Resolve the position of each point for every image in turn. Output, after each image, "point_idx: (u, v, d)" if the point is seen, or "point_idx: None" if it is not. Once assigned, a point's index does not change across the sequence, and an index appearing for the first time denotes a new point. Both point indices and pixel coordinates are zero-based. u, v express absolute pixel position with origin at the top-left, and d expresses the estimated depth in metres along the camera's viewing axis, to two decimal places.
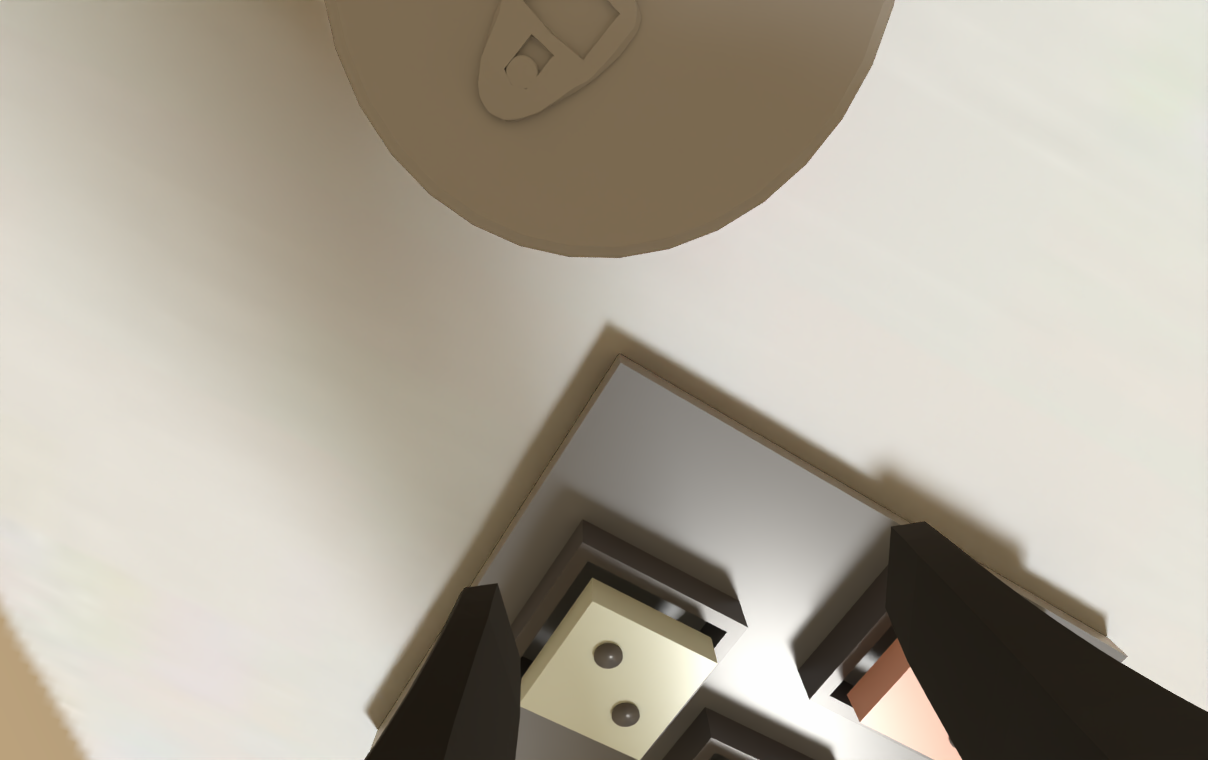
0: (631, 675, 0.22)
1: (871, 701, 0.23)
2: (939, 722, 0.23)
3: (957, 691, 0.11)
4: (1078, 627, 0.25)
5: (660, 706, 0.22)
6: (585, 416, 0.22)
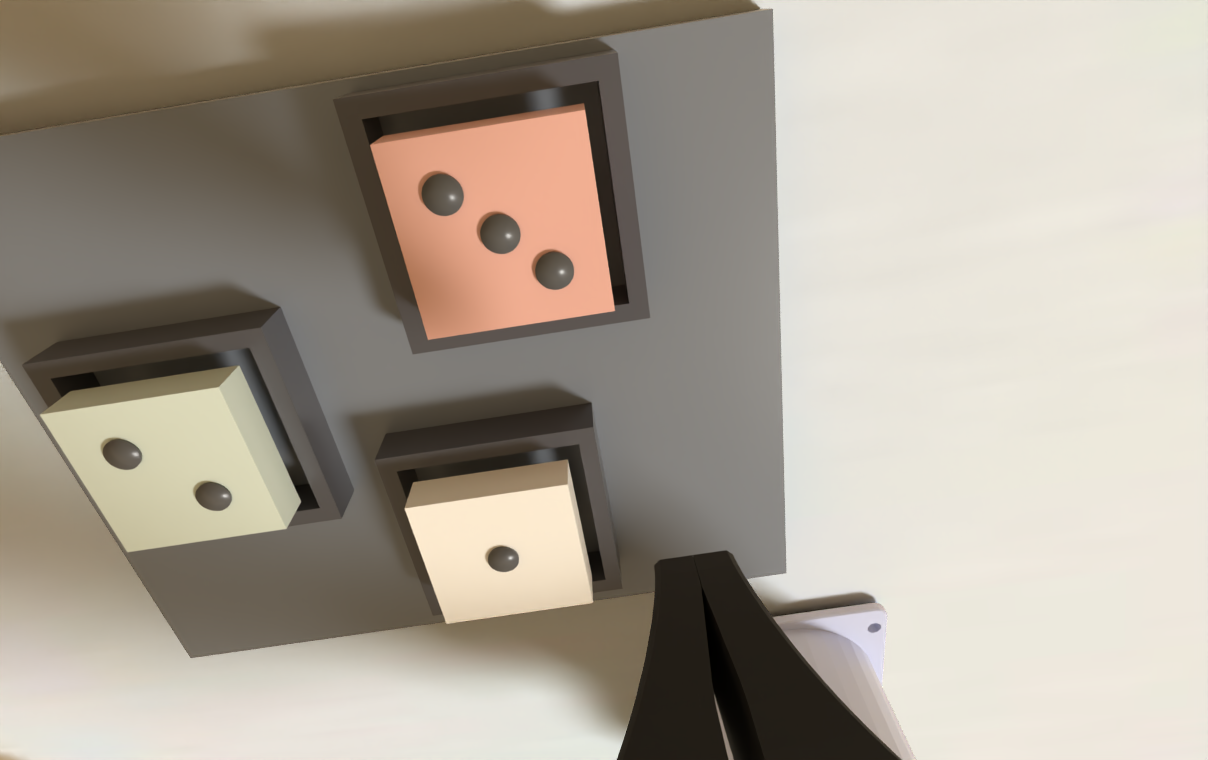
0: (168, 457, 0.18)
1: None
2: (508, 274, 0.16)
3: (731, 721, 0.11)
4: (669, 26, 0.16)
5: (232, 467, 0.18)
6: None
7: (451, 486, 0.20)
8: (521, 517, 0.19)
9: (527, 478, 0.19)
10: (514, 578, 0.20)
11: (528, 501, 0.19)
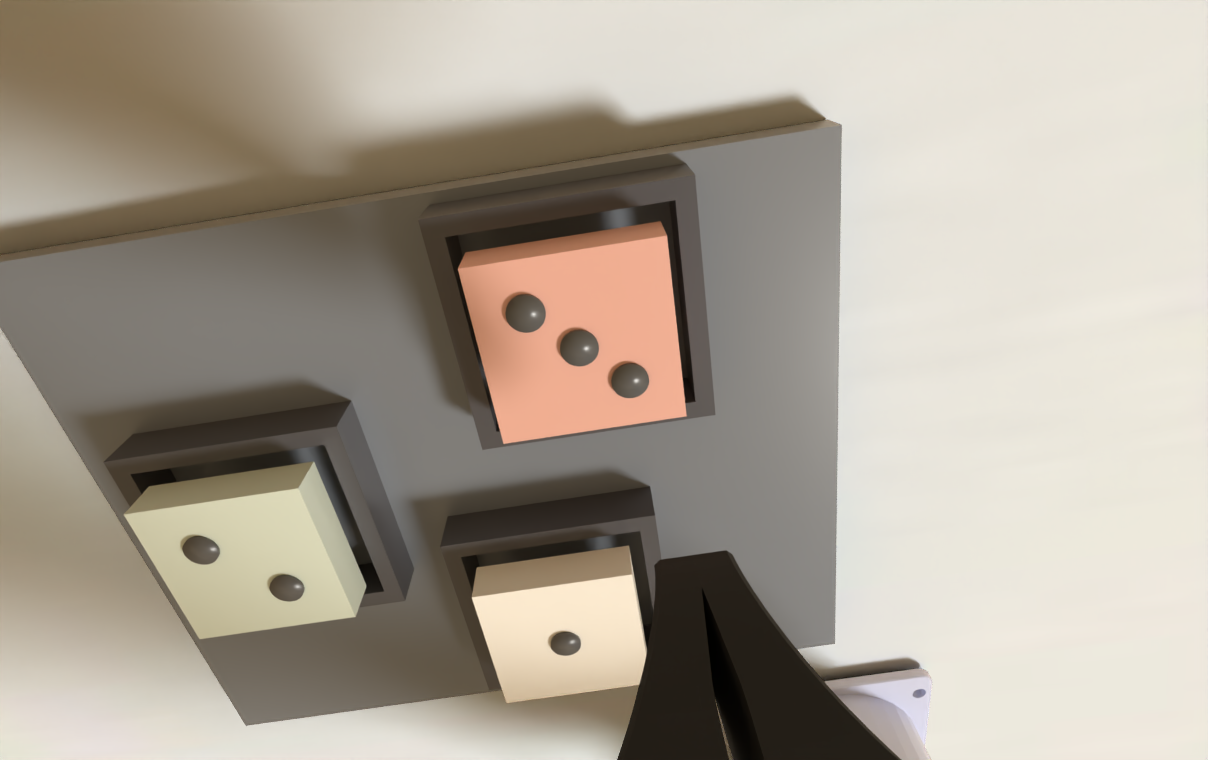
0: (245, 552, 0.18)
1: None
2: (584, 383, 0.16)
3: (731, 721, 0.11)
4: (740, 141, 0.17)
5: (306, 560, 0.19)
6: (14, 342, 0.18)
7: (516, 573, 0.20)
8: (584, 605, 0.20)
9: (591, 566, 0.20)
10: (575, 661, 0.21)
11: (592, 590, 0.19)
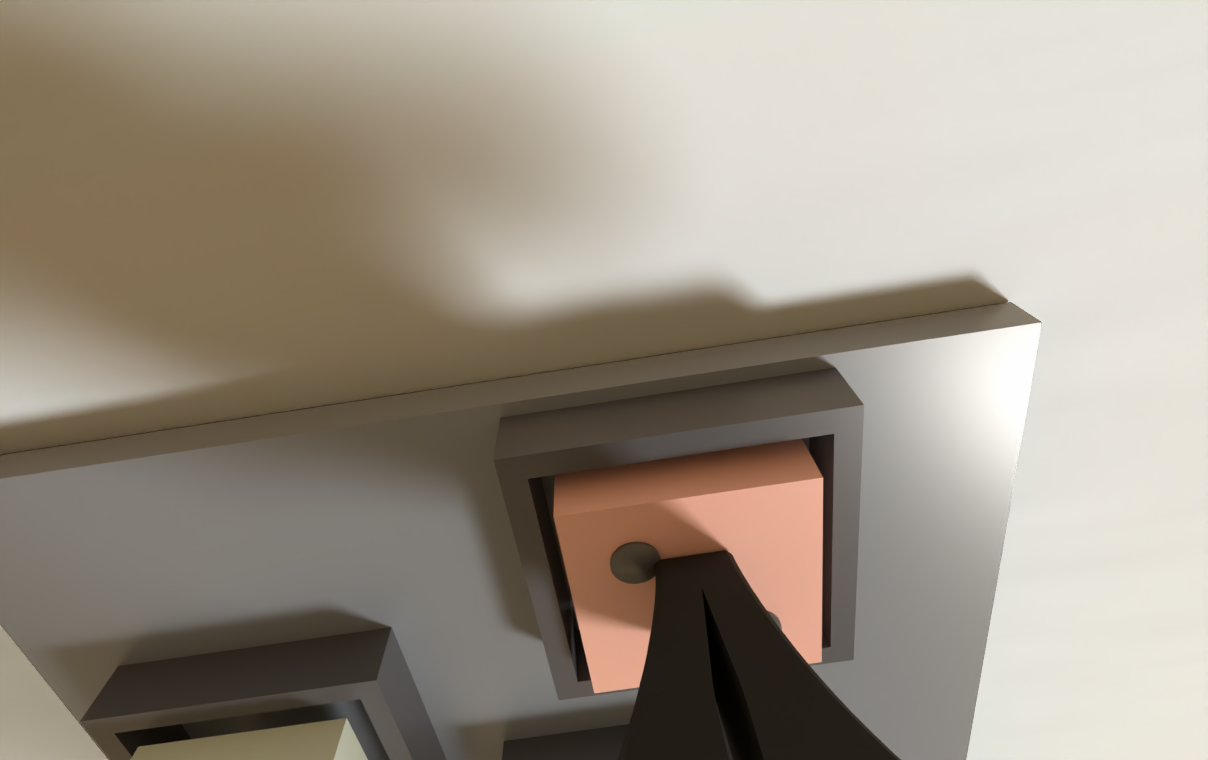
0: None
1: None
2: None
3: (731, 721, 0.11)
4: (908, 340, 0.13)
5: None
6: None
7: None
8: None
9: None
10: None
11: None
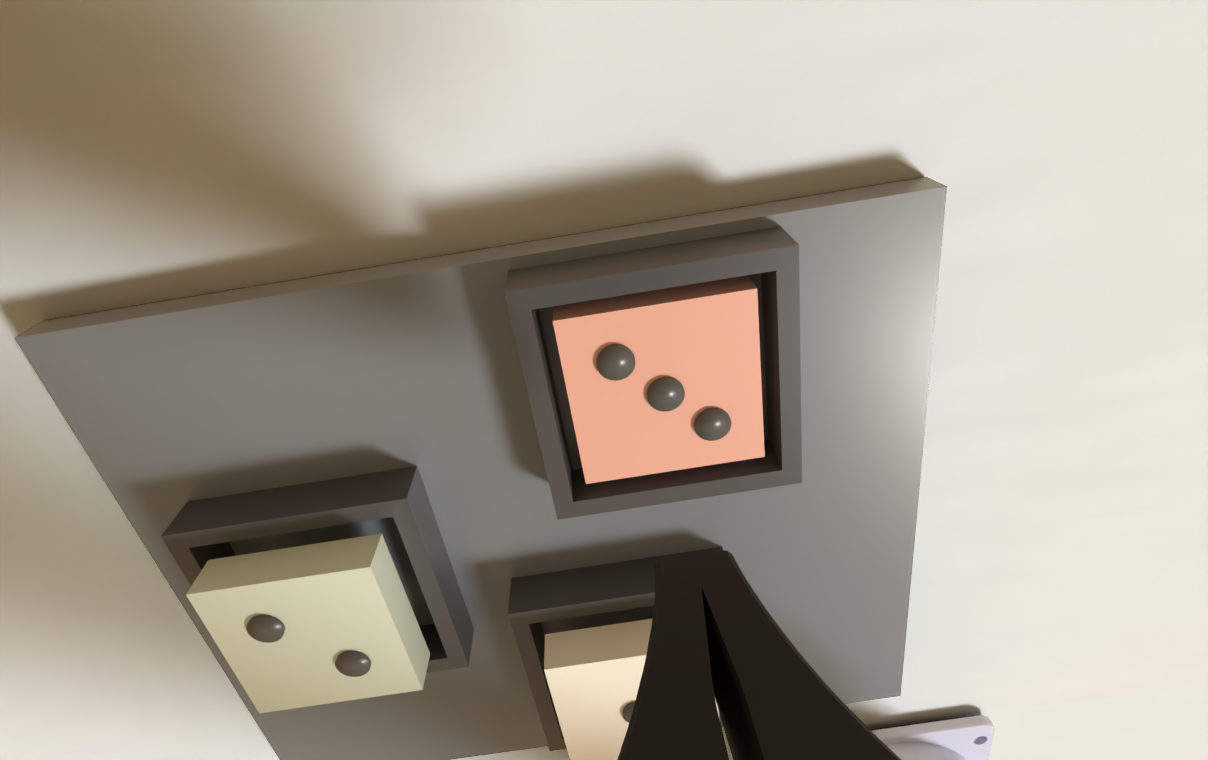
0: (311, 629, 0.17)
1: None
2: (668, 427, 0.17)
3: (731, 721, 0.11)
4: (839, 203, 0.16)
5: (374, 636, 0.18)
6: (65, 411, 0.17)
7: (587, 642, 0.19)
8: None
9: None
10: None
11: None
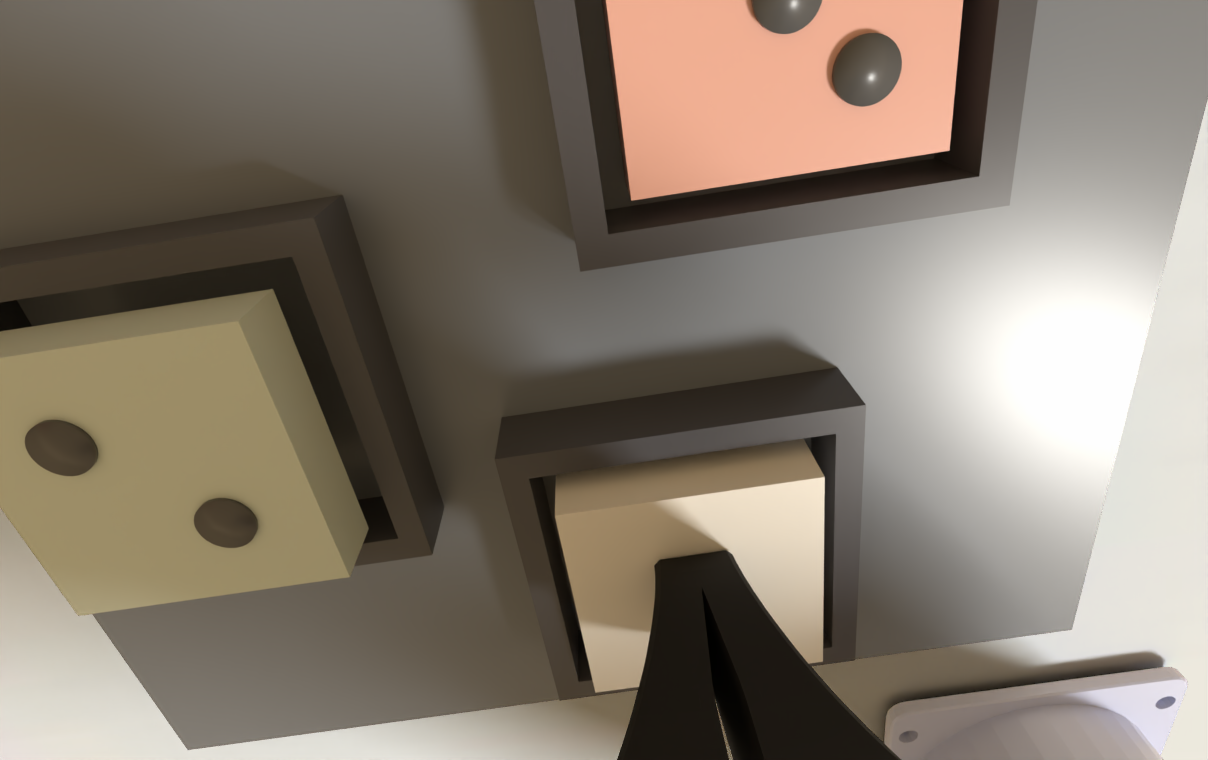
0: (145, 453, 0.10)
1: None
2: (785, 76, 0.09)
3: (731, 721, 0.11)
4: None
5: (259, 471, 0.10)
6: None
7: (623, 480, 0.12)
8: (739, 530, 0.12)
9: (748, 467, 0.12)
10: None
11: (755, 505, 0.12)
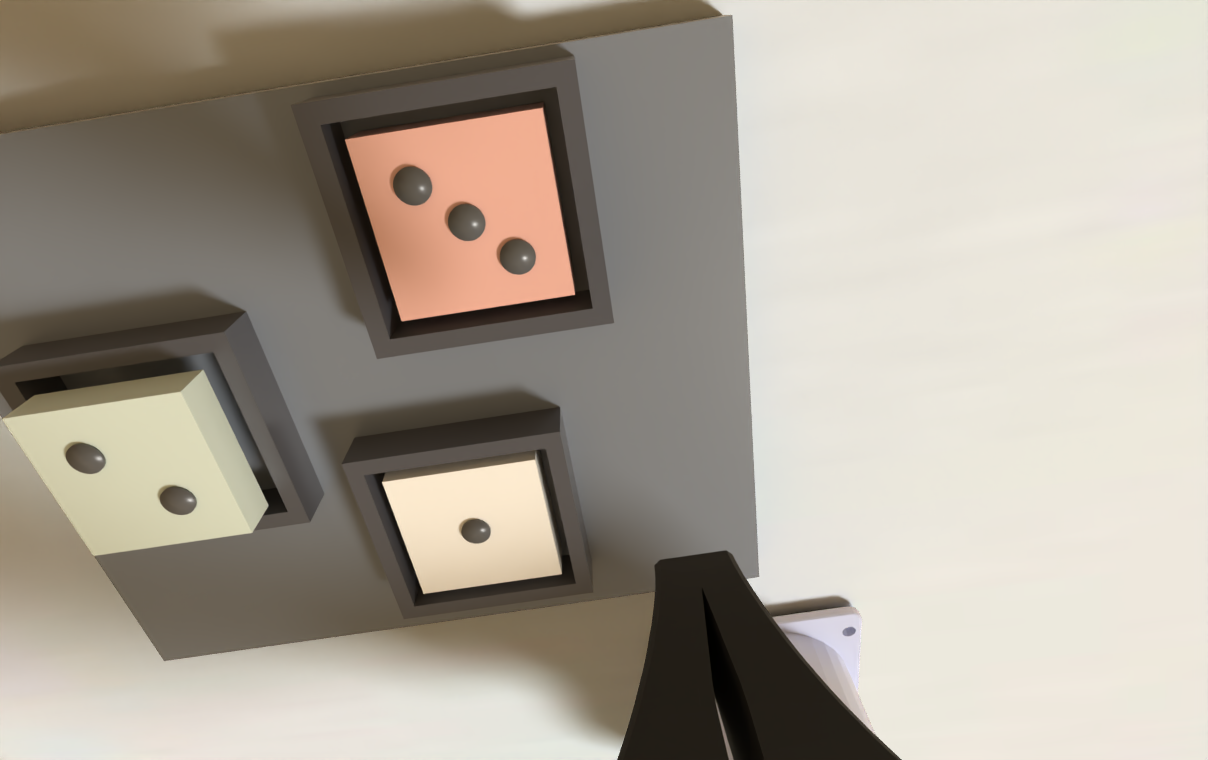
0: (131, 461, 0.18)
1: None
2: (474, 259, 0.17)
3: (731, 722, 0.11)
4: (629, 32, 0.16)
5: (196, 471, 0.18)
6: None
7: None
8: (492, 491, 0.21)
9: None
10: (487, 550, 0.22)
11: (498, 476, 0.20)
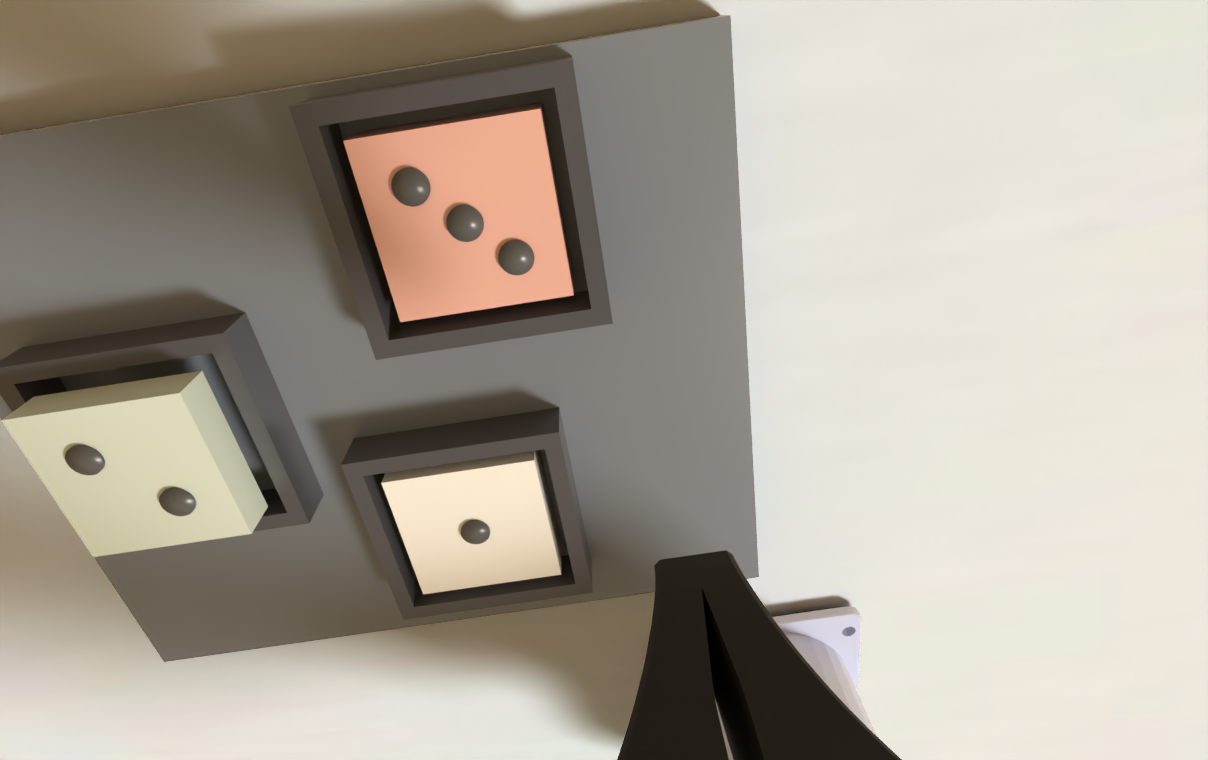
0: (131, 462, 0.18)
1: None
2: (473, 260, 0.17)
3: (731, 721, 0.11)
4: (627, 32, 0.16)
5: (195, 472, 0.18)
6: None
7: None
8: (491, 492, 0.21)
9: None
10: (486, 550, 0.22)
11: (497, 477, 0.20)
